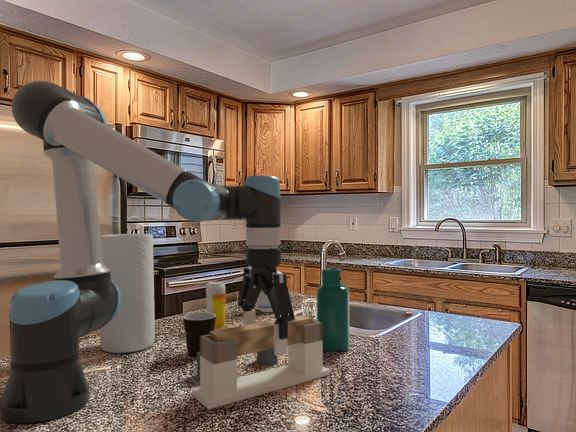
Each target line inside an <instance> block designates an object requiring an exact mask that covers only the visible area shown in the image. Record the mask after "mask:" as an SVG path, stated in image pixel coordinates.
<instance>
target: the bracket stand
mask: <svg viewBox="0 0 576 432" xmlns="http://www.w3.org/2000/svg"><path fill="white" fill-rule="evenodd" d="M323 351H324V350H323V342H322V323H321V322H318V321H317V320H314V319H313V324H308V325H303V342H301V343H296V344H292V345H287V356H288V359H287V361H288V364H287V365H284V366H279V367H276V368H271V369H268V370H263V371H260V372H255V373H252V374H247V375H244V376H239V377H238V363H237V362H238V358H237V357H238V356H237V339H235V338H234V339H229V340H224V341H219V342H214V341H213V340H211V339H210V334H209V335H203V336H200V376H199V378H200V379H199V380H200V382H199V383H200V385H199V387H195V388H192V389H191V395H192V396H193V397H194V399H196V400H197V401H198V403H200V404H202V406H204V407H205V408H206V409H208V410H212V409H215V408H218V407H222V406H225V405H228V404H232V403H236V402H238V401H239V402H240V401H243V400H247V399H250V398H253V397H256V396H260V395H264V394H268V393H271V392H274V391H278V390H282V389H285V388H288V387H291V386H295V385H299V384H302V383H306V382H309V381H312V380H315V379H316V380H317V379H319V378H320V379H321V378H323V377H327V376H330V374H331V373H330V372H331V371H330V369H329V368H327V367H325V366H324V365H323V361H324V360H323V359H324V358H323V357H324V356H323V353H324V352H323Z"/></svg>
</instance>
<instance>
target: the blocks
mask: <svg viewBox="0 0 576 432" xmlns="http://www.w3.org/2000/svg"><path fill="white" fill-rule="evenodd" d="M256 361H258V362H259V363H261V364H263V365H265V366H267V367H268V366H272V365H276V364H278V356H276V355H274V349H269V350H264V351H260V352H256ZM196 374H197V375H198V376H199V377H200V352H197V358H196Z"/></svg>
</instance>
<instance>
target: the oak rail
mask: <svg viewBox="0 0 576 432" xmlns="http://www.w3.org/2000/svg"><path fill="white" fill-rule="evenodd" d="M313 320H314V318H313V317H311V316H308V315H304V314H302V315H298V316H295V320H294V321H289V322H288V338H287V346H288V345H292V344H296V343H301V342H303V325H308V324H313ZM275 321H276V319H273V320H269V321H263V322H257V323H256V324H250V325H244V324H243V325H240V326H234V327H228V328H224V329H221V330H215V331H210V339H211V340H213V341H214V342H219V341H224V340H229V339H234V338H235V339H237V357H242V356H245V355H249V354H254V353H255V354H256V353H257V352H260V351H264V350H269V349H274V322H275Z"/></svg>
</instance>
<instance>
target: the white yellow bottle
mask: <svg viewBox="0 0 576 432" xmlns="http://www.w3.org/2000/svg"><path fill="white" fill-rule="evenodd" d="M205 293H206V294H205V296H206V297H205V302H206V303H205V305H206V306H205V307H206V309H205V310H206V312H205V313H213V314H215V315H216V320H215V330H221V329H226V326H227V325H226V323H227V322H226V321H227V320H226V285H225V282H224V281H211V282H207V283H206V286H205ZM215 330H214V331H215Z"/></svg>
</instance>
